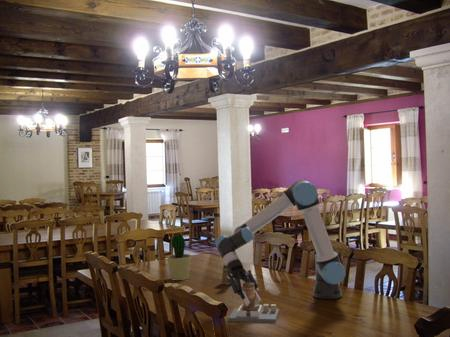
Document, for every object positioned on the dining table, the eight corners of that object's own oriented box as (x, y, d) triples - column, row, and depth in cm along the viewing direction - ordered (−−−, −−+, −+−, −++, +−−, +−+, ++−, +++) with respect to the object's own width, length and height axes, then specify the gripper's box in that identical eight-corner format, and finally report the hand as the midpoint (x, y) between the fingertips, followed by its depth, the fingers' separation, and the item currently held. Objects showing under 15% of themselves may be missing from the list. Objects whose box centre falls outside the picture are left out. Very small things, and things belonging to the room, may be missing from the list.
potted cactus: (193, 275, 322) (191, 230, 321) (189, 281, 306) (187, 234, 306) (170, 276, 323) (169, 231, 323) (165, 281, 308) (163, 234, 308)
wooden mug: (228, 287, 286) (227, 257, 286) (218, 283, 299) (217, 254, 298) (241, 285, 290) (240, 255, 290) (231, 281, 303) (230, 252, 302)
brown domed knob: (257, 306, 234) (256, 282, 234) (255, 311, 227) (254, 285, 227) (243, 306, 235) (242, 281, 235) (241, 310, 229) (240, 285, 229)
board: (279, 311, 236) (278, 302, 236) (275, 322, 221) (275, 312, 221) (235, 310, 241) (234, 301, 241) (228, 321, 225) (228, 311, 225)
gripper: (245, 264, 249) (266, 303, 235) (214, 270, 239) (234, 311, 225) (251, 256, 244) (272, 295, 231) (219, 261, 234) (240, 302, 221)
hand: (253, 303), depth 228 cm, fingers closed on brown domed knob, 6 cm apart
